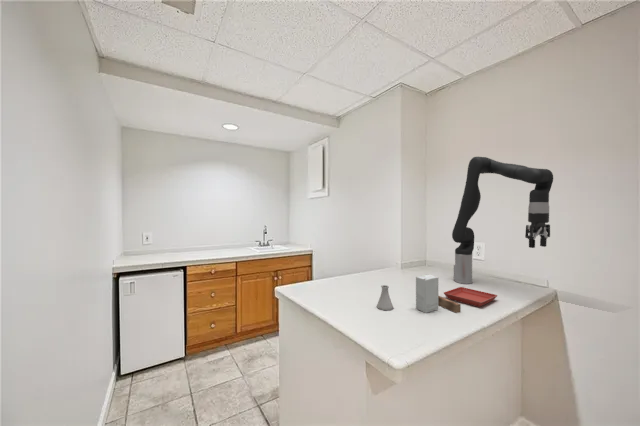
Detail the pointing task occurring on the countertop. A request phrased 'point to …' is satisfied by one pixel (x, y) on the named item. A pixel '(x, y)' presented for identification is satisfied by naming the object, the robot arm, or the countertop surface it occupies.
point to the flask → (385, 299)
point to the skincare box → (427, 293)
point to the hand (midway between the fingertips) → (537, 247)
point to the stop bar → (449, 304)
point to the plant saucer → (470, 296)
